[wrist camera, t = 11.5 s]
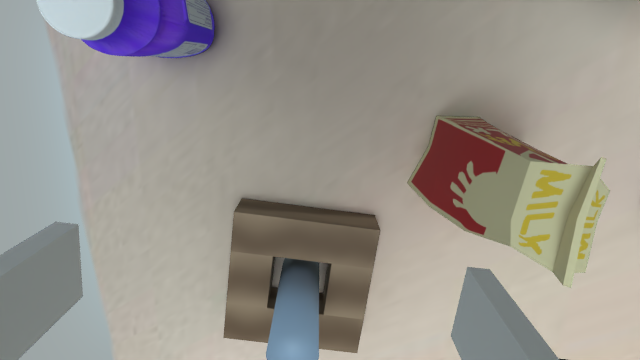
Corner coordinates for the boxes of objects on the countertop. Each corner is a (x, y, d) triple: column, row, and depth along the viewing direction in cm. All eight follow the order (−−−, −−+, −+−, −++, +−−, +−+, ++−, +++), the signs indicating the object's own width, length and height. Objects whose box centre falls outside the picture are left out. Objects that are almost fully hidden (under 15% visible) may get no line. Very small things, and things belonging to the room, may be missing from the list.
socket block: (241, 198, 43) (233, 211, 39) (374, 215, 43) (380, 230, 39) (231, 314, 46) (223, 337, 42) (354, 329, 47) (357, 353, 43)
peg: (284, 248, 44) (268, 329, 31) (321, 252, 44) (321, 335, 31) (280, 281, 45) (263, 373, 32) (316, 285, 45) (315, 379, 32)
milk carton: (485, 215, 43) (619, 338, 24) (404, 186, 42) (475, 290, 23) (526, 134, 41) (711, 198, 21) (441, 102, 40) (555, 138, 21)
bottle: (215, -11, 37) (128, -71, 20) (223, 55, 39) (149, 49, 22) (135, -5, 37) (-16, -60, 20) (147, 60, 39) (15, 59, 22)
